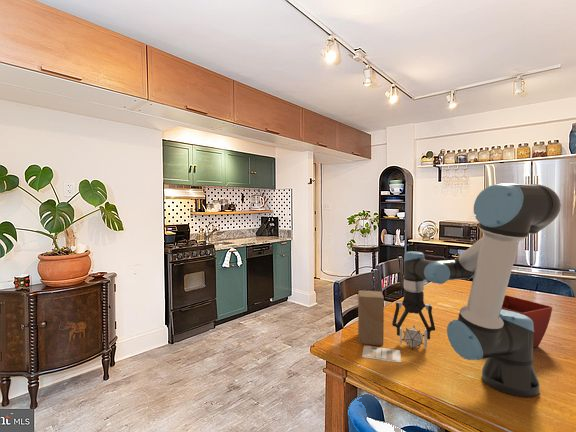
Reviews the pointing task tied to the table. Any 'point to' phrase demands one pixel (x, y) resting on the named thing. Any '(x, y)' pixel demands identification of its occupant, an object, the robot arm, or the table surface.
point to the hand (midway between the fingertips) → (413, 344)
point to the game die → (413, 337)
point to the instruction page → (382, 354)
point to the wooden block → (370, 317)
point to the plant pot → (530, 314)
